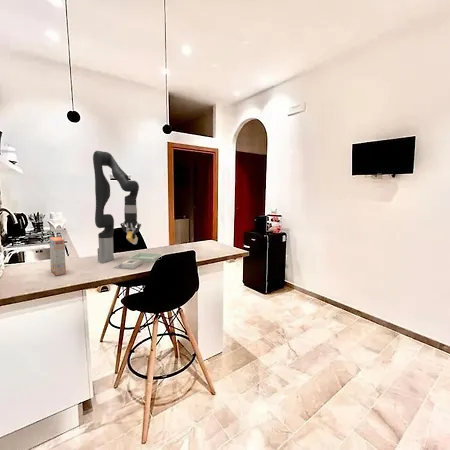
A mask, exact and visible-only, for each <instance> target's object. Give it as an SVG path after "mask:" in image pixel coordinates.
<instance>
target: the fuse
mask: <svg viewBox="0 0 450 450" xmlns="http://www.w3.org/2000/svg"><path fill="white" fill-rule="evenodd" d="M132 234H133V233H132V230H130V231H128V233H126V240H127V241H128V242H129V243H131V244H133V245H137V244H138V240H139V237H137V236H138V235H136V233H135V239H132Z"/></svg>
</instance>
